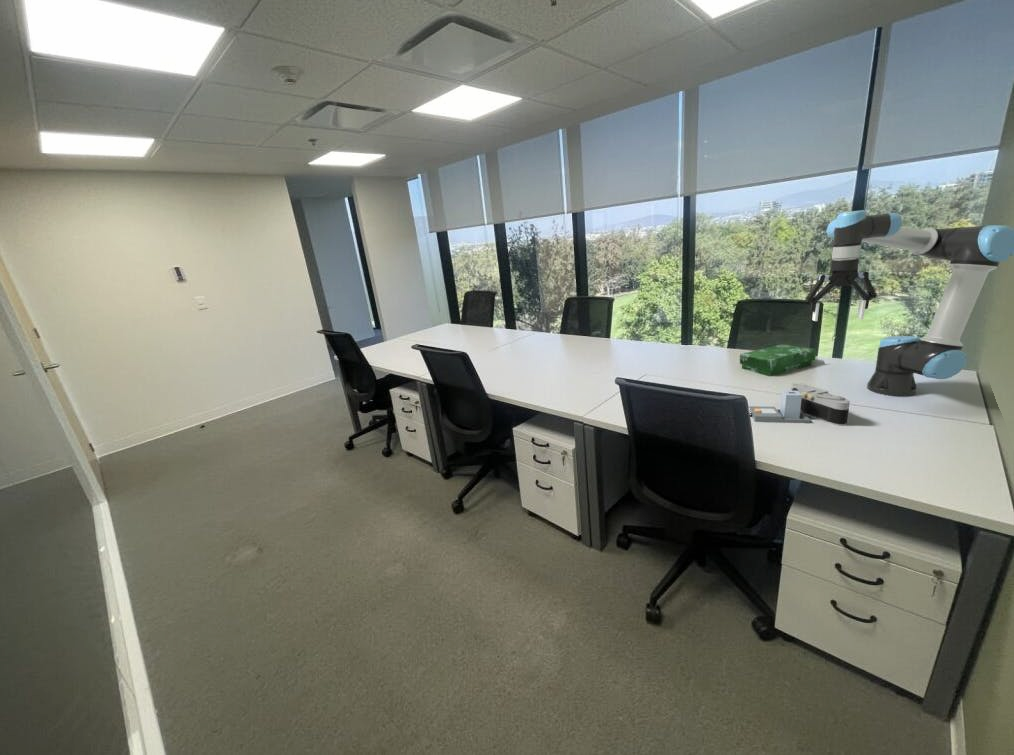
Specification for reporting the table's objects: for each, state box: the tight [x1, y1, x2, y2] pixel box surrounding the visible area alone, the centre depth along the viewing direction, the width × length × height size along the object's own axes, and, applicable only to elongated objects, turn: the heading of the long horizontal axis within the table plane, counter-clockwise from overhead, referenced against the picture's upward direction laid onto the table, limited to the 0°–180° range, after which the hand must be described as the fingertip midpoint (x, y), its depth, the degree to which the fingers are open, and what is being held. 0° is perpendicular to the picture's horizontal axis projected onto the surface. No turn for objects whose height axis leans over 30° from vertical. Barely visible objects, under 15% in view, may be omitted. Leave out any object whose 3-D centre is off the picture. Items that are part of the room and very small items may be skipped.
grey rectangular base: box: [748, 405, 811, 424], centre depth 158 cm, size 21×10×3 cm, turn 72°
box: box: [739, 344, 817, 377], centre depth 208 cm, size 32×18×10 cm, turn 110°
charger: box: [780, 390, 802, 419], centre depth 156 cm, size 5×5×10 cm
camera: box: [790, 383, 851, 427], centre depth 155 cm, size 22×10×10 cm, turn 14°
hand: (837, 319), depth 146 cm, fingers open, 13 cm apart
